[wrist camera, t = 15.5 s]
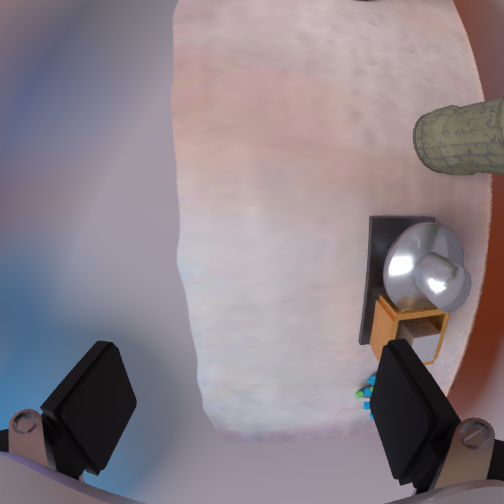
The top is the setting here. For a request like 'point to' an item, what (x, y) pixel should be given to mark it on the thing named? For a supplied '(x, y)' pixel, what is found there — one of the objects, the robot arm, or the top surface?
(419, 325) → the tall grey block
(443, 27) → the top surface
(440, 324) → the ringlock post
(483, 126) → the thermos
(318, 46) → the top surface
